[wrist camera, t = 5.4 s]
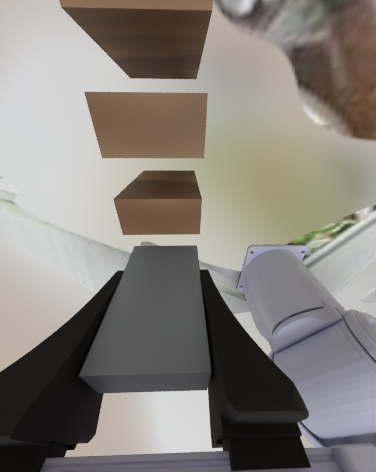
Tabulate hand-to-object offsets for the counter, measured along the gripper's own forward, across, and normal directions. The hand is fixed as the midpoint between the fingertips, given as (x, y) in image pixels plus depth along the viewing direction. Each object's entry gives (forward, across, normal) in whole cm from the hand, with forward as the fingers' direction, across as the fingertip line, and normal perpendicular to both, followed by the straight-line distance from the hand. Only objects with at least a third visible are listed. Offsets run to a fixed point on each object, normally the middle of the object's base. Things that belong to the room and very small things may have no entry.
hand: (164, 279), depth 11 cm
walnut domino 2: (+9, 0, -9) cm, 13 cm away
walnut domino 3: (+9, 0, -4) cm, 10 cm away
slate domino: (+2, 0, 0) cm, 2 cm away
